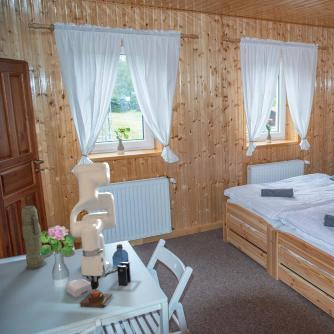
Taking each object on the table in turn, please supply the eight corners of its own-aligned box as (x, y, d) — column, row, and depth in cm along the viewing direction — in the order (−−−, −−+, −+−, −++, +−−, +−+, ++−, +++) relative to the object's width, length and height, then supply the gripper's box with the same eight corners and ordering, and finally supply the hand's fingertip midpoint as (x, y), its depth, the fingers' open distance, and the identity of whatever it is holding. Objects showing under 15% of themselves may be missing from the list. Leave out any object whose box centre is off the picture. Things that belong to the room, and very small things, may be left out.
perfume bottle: (123, 267, 216) (121, 247, 213) (113, 267, 217) (111, 247, 214) (128, 263, 222) (127, 243, 219) (118, 262, 223) (117, 242, 220)
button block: (80, 306, 178) (79, 299, 177) (90, 296, 187) (89, 288, 186) (103, 308, 177) (102, 300, 176) (112, 297, 186) (111, 290, 185)
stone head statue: (36, 270, 213) (28, 210, 206) (22, 266, 218) (13, 207, 211) (50, 264, 221) (43, 205, 213) (36, 260, 226) (29, 203, 218)
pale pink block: (78, 282, 200) (93, 291, 191) (60, 289, 193) (75, 299, 184) (77, 273, 199) (92, 283, 190) (59, 280, 192) (74, 290, 183)
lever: (104, 278, 194) (102, 274, 194) (109, 274, 199) (107, 270, 199) (124, 271, 192) (122, 266, 192) (129, 266, 197) (126, 262, 197)
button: (90, 297, 179) (89, 293, 179) (94, 293, 183) (93, 289, 183) (97, 297, 179) (97, 294, 179) (101, 293, 183) (101, 290, 182)
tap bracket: (109, 289, 193) (107, 267, 190) (117, 280, 202) (115, 259, 199) (132, 290, 192) (131, 269, 189) (139, 281, 200) (138, 260, 198)
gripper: (110, 248, 179) (114, 285, 183) (80, 247, 181) (84, 283, 185) (103, 255, 172) (106, 293, 176) (71, 254, 174) (75, 291, 177)
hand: (95, 288), depth 180 cm, fingers closed
